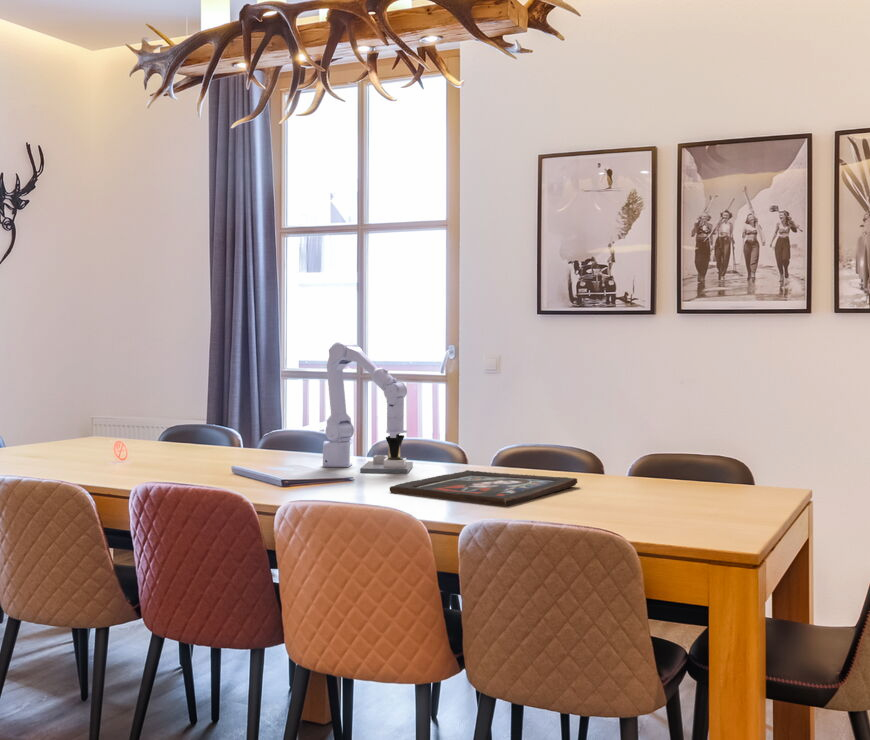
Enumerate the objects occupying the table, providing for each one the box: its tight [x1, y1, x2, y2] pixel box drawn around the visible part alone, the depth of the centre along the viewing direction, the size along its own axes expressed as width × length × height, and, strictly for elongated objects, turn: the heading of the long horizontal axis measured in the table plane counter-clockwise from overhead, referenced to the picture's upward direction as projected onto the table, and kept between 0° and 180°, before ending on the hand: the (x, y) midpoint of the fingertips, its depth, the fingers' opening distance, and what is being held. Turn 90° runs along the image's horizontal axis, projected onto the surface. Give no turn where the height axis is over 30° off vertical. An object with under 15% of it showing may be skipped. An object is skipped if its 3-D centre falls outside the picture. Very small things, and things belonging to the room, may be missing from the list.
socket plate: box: [359, 454, 414, 475], centre depth 303 cm, size 16×20×4 cm
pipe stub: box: [388, 447, 401, 460], centre depth 300 cm, size 4×4×6 cm
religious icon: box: [389, 470, 578, 507], centre depth 259 cm, size 40×45×3 cm
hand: (395, 457), depth 300 cm, fingers closed on pipe stub, 4 cm apart
